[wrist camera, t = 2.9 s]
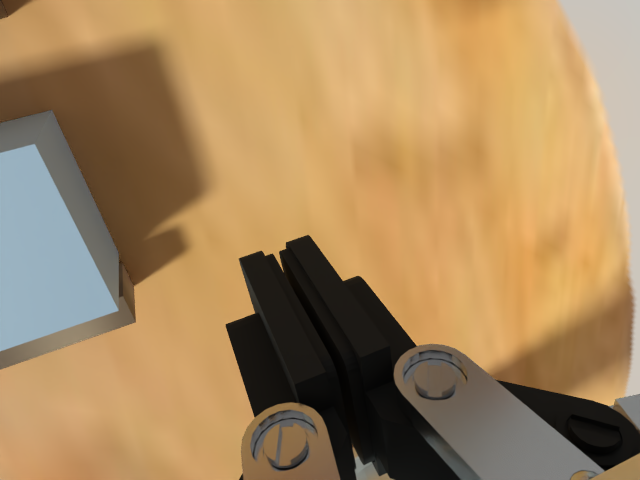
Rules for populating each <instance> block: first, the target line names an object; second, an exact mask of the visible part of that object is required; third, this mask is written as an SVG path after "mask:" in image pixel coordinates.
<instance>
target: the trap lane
mask: <svg viewBox="0 0 640 480" xmlns="http://www.w3.org/2000/svg"><path fill="white" fill-rule="evenodd" d="M5 17H8V14H7V12H6V10H5V8H4V6H3V4H2V2H1V0H0V19H2V18H5ZM135 322H136V319H135V299H134V286H133V284H132V282H131V280H130V277H129V275H128V273H127V271H126V269H125V267H124V265H123V262H122V263H119V311H116V312H113V313H110V314H107V315H105V316H102V317H99V318H96V319H93V320H90V321H87V322H84V323H81V324H78V325H75V326H73V327H70V328H67V329H64V330H61V331H58V332H55V333H52V334H49V335H46V336H43V337H41V338H38V339H35V340H32V341H29V342H26V343H23V344H20V345H17V346H14V347H11V348H8V349H6V350H3V351H0V369H3V368H6V367H9V366H12V365H15V364H18V363H21V362H23V361H26V360H29V359H32V358H35V357H38V356H41V355H43V354H46V353H49V352H52V351H55V350H58V349H61V348H63V347H66V346H69V345H72V344H75V343H78V342H81V341H83V340H86V339H89V338H92V337H95V336H98V335H101V334H103V333H106V332H109V331H112V330H115V329H118V328H121V327H124V326H126V325H129V324H132V323H135Z"/></svg>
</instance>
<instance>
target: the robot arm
mask: <svg viewBox="0 0 640 480" xmlns="http://www.w3.org/2000/svg"><path fill="white" fill-rule="evenodd" d="M279 254H280V259H281V263H282V267H283V271H284V272H283V271H282V269H281V267H280V265H279V263H278V262H277V260H276V258H275V256H274V255H273V254H270V255H267V256H265V255H264V253H263V252H262V251H259V252H256V253H253V254H250V255H248V256H245V257H242V258H239V261H240V265H241V268H242V271H243V275H244V278H245V281H246V285H247V288H248V291H249V294H250V298H251V301H252V304H253V307H254V311H255V314H253V315H250V316H247V317H245V318H242V319H239V320H236V321H234V322H231V323H228V324H226V328H227V332H228V335H229V338H230V341H231V344H232V347H233V350H234V354H235V357H236V360H237V363H238V366H239V369H240V373H241V376H242V379H243V382H244V385H245V388H246V391H247V395H248V398H249V401H250V404H251V407H252V410H253V413H254V417H255V418H254V420H253V421H252V422H251V423H250V425H249V426H248V427H247V429H246V431H245V434H244V436H243V438H242V446H241V457H242V469H243V474H242V475H241V477H240V479H239V480H640V394H638V395H633V396H628V397H624V398H619V399H615V403H614V405H612V406H607V405H604V404H601V403H598V402H595V401H591V400H587V399H582V398H577V397H573V396H568V395H563V394H559V393H554V392H549V391H545V390H540V389H536V388H531V387H526V386H522V385H517V384H512V383H508V382H503V381H498V380H495V379H494V378H492V377H491V376H490V375H489V374H488V373H486V372H485V371H484V370H483V369H482V368H480V367H479V366H478V365H477V364H476V363H474V362H473V361H472V360H471V359H470V358H468V357H467V356H466V355H465V354H463V353H461V352H460V351H458V350H457V349H455V348H452V347H449V346H445V345H439V344H427V345H420V346H416V345H415V343H414V342H413V341H412V340H411V338H410V337H409V336H408V335H407V333H406V332H405V331H404V330H403V328H402V327H401V326H400V325H399V323H398V322H397V321H396V320H395V318H394V317H393V316H392V315H391V313H390V312H389V311H388V310H387V308H386V307H385V306H384V304H383V303H382V302H381V301H380V299H379V298H378V297H377V296H376V294H375V293H374V292H373V291H372V289H371V288H370V287H369V286H368V284H367V283H366V282H365V281H364V280H363V279H362V278H361V277H360V276H356V277H353V278H351V279H348V280H345V281H342V279H341V278H340V277H339V275H338V274H337V272H336V271H335V270H334V268H333V267H332V266H331V264H330V263H329V262H328V260H327V259H326V257H325V256H324V255H323V253H322V252H321V251H320V249H319V248H318V246H317V245H316V244H315V242H314V241H313V240H312V238H311V237H310V236H309V235H307V236H304V237H301V238H298V239H295V240H292V241H289V242H286V249H285V250H282V251H280V252H279ZM352 445H353V448H352Z"/></svg>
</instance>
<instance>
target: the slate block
mask: <svg viewBox="0 0 640 480" xmlns="http://www.w3.org/2000/svg"><path fill="white" fill-rule="evenodd" d="M116 311H119V253H118V250H117V248H116V246H115V244H114V242H113V240H112V238H111V235H110V233H109V231H108V229H107V227H106V225H105V223H104V220H103V218H102V216H101V214H100V212H99V210H98V208H97V205H96V203H95V201H94V199H93V197H92V195H91V193H90V190H89V188H88V186H87V184H86V182H85V180H84V178H83V175H82V173H81V171H80V169H79V167H78V165H77V163H76V160H75V158H74V156H73V154H72V152H71V150H70V148H69V145H68V143H67V141H66V139H65V137H64V135H63V133H62V130H61V128H60V126H59V124H58V122H57V120H56V118H55V115H54V113H53V111H52V110H50V111H46V112H42V113H38V114H34V115H30V116H26V117H22V118H18V119H14V120H10V121H6V122H2V123H0V351H3V350H6V349H8V348H11V347H14V346H17V345H20V344H23V343H26V342H29V341H32V340H35V339H38V338H41V337H43V336H46V335H49V334H52V333H55V332H58V331H61V330H64V329H67V328H70V327H73V326H75V325H78V324H81V323H84V322H87V321H90V320H93V319H96V318H99V317H102V316H105V315H107V314H110V313H113V312H116Z"/></svg>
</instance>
